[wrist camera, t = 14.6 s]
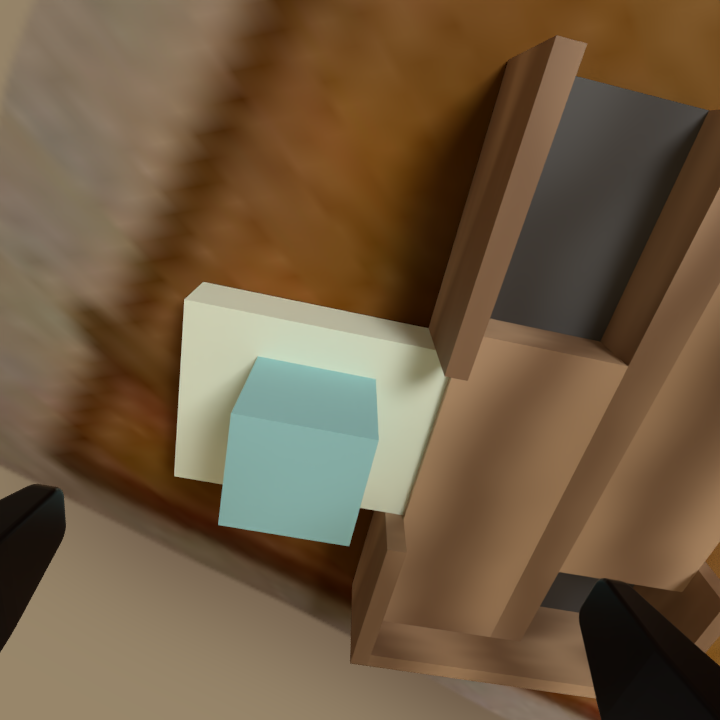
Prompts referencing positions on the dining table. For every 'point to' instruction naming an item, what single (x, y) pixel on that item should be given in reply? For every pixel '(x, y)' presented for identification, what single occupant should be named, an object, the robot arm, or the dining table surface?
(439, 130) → the dining table surface
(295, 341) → the board
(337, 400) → the block
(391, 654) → the box
